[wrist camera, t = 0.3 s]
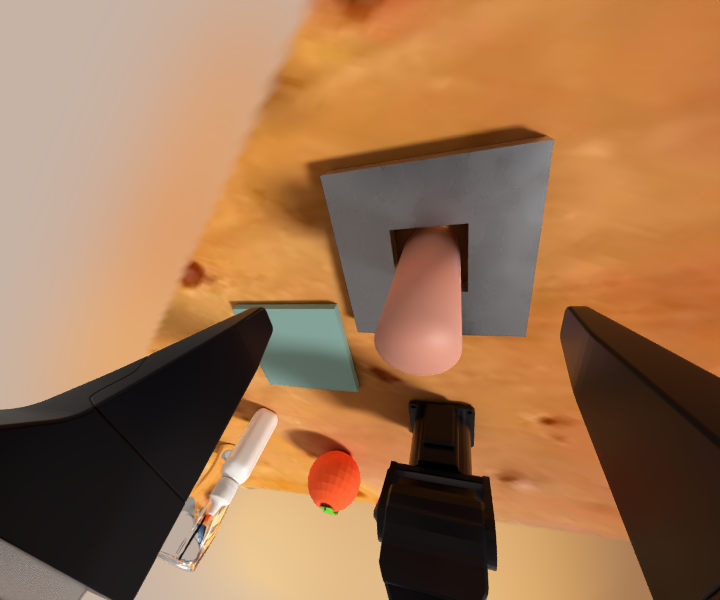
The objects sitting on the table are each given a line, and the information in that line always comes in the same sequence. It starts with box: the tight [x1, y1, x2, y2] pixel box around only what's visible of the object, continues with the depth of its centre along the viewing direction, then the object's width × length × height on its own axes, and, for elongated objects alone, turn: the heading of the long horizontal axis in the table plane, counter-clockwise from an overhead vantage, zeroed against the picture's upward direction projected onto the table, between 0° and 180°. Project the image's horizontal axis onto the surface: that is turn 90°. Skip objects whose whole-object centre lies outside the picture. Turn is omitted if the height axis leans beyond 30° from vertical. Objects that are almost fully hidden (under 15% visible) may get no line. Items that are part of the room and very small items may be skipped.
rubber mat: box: [232, 304, 360, 392], centre depth 31 cm, size 11×11×1 cm
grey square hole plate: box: [320, 136, 554, 337], centre depth 21 cm, size 13×13×2 cm
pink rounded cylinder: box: [374, 226, 462, 376], centre depth 18 cm, size 4×4×10 cm
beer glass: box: [157, 444, 235, 572], centre depth 46 cm, size 7×7×15 cm
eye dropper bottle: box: [208, 408, 278, 516], centre depth 37 cm, size 4×6×12 cm
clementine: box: [308, 450, 360, 515], centre depth 40 cm, size 8×7×7 cm
